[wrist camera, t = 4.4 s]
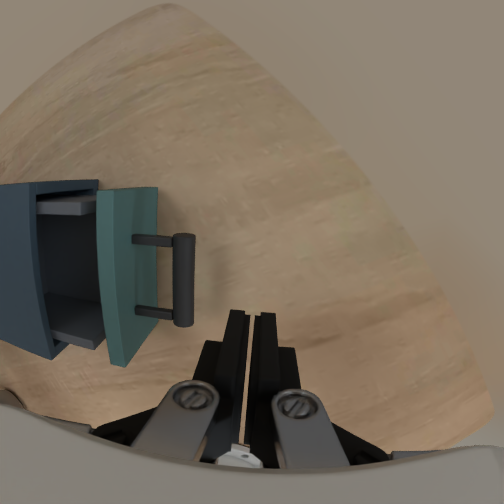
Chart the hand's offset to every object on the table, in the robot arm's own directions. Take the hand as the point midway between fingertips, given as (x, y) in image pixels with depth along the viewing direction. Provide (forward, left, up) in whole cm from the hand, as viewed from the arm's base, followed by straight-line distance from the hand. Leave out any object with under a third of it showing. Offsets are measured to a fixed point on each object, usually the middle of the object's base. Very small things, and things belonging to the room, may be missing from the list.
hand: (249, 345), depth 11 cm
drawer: (+12, 0, -12) cm, 17 cm away
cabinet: (+21, 0, -13) cm, 25 cm away
